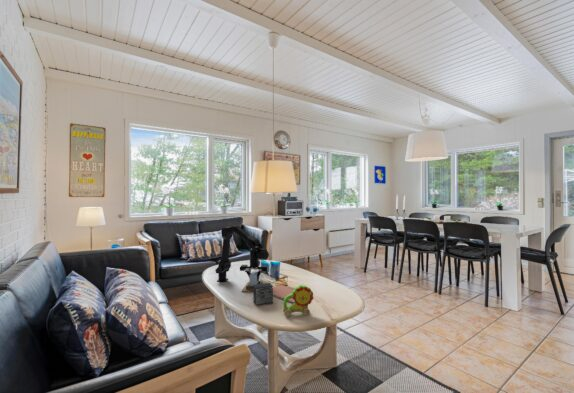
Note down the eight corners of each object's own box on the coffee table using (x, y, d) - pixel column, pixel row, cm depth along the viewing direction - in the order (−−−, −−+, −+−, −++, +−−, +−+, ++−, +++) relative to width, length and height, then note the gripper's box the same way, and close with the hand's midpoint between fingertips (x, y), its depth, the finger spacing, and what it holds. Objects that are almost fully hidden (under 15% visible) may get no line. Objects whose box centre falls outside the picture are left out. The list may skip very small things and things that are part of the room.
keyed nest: (248, 283, 205) (248, 278, 205) (266, 283, 204) (266, 279, 204) (241, 292, 187) (241, 287, 187) (261, 292, 186) (261, 288, 186)
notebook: (312, 297, 178) (312, 294, 178) (293, 305, 167) (293, 301, 167) (282, 287, 198) (282, 284, 198) (263, 293, 186) (263, 290, 186)
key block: (249, 285, 191) (249, 275, 191) (252, 281, 200) (252, 271, 200) (256, 285, 191) (256, 275, 191) (259, 281, 200) (259, 271, 199)
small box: (270, 299, 174) (270, 282, 174) (273, 303, 168) (273, 285, 168) (253, 301, 171) (252, 284, 170) (255, 306, 165) (255, 287, 164)
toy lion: (284, 317, 149) (284, 288, 149) (282, 313, 155) (282, 285, 154) (314, 315, 152) (314, 286, 151) (311, 311, 157) (311, 283, 157)
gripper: (269, 255, 202) (270, 277, 202) (243, 254, 204) (244, 276, 204) (266, 259, 191) (267, 282, 191) (239, 258, 193) (239, 281, 193)
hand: (254, 280), depth 195 cm, fingers closed on key block, 4 cm apart
